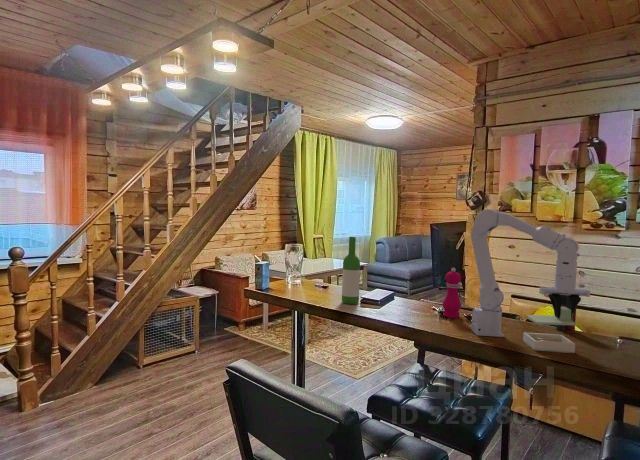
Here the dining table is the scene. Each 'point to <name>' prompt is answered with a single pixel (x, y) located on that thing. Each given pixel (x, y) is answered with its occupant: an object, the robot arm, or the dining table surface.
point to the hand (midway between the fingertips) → (562, 317)
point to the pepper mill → (452, 295)
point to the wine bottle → (351, 275)
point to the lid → (553, 318)
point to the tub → (549, 342)
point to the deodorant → (571, 327)
